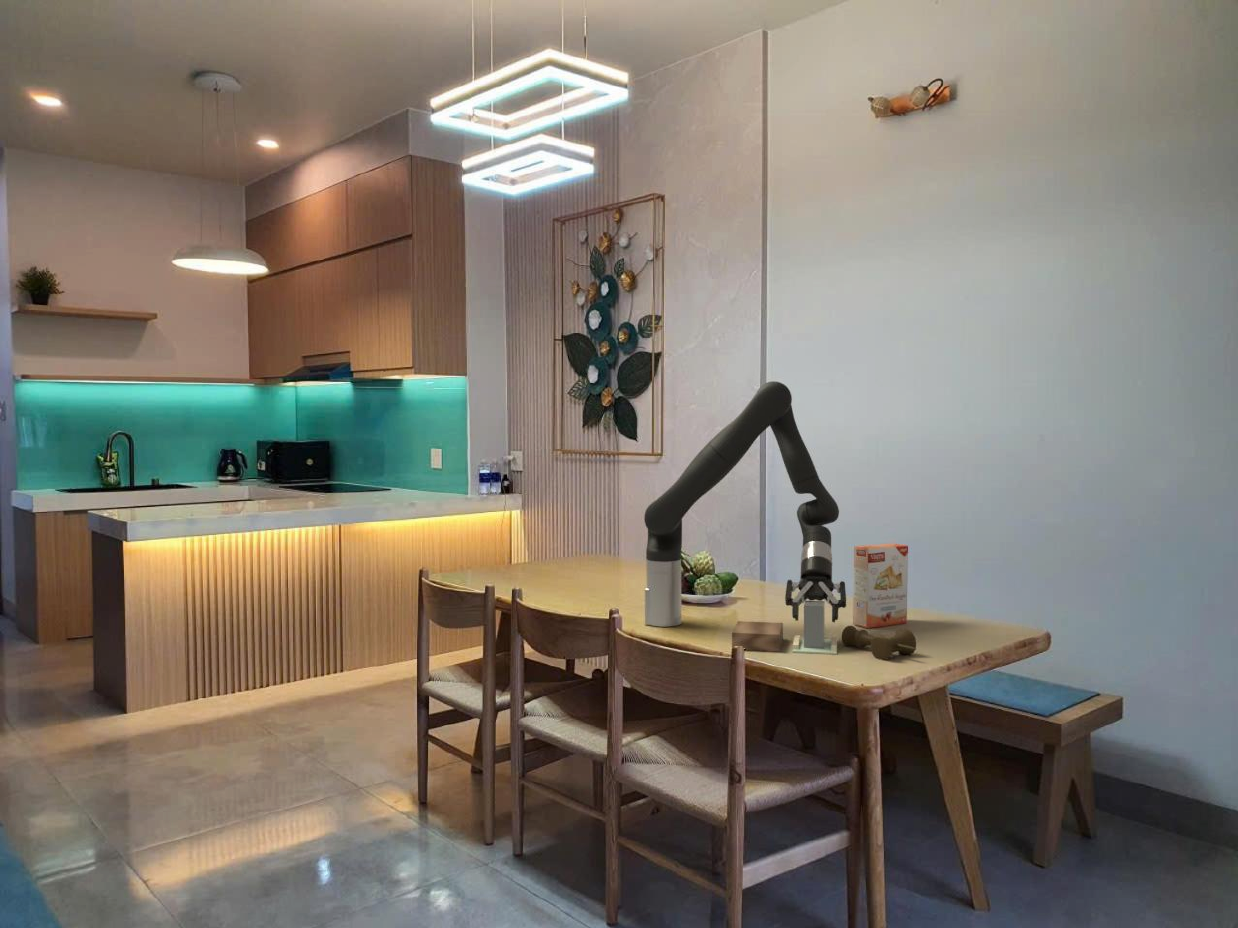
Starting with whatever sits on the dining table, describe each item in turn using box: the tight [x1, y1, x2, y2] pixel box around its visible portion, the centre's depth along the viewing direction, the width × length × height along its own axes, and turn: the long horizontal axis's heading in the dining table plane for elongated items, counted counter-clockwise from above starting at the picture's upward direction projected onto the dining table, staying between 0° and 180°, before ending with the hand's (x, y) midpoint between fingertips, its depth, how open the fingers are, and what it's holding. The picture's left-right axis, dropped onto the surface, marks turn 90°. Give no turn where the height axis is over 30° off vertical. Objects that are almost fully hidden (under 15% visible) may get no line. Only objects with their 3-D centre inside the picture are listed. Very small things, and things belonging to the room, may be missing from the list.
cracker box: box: [852, 542, 909, 629], centre depth 245 cm, size 14×6×21 cm, turn 117°
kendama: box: [841, 625, 917, 661], centre depth 215 cm, size 6×10×20 cm
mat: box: [792, 634, 838, 655], centre depth 221 cm, size 10×13×1 cm
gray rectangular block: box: [803, 600, 826, 649], centre depth 221 cm, size 4×6×10 cm
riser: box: [731, 620, 784, 652], centre depth 224 cm, size 11×13×4 cm
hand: (815, 619), depth 220 cm, fingers open, 8 cm apart
